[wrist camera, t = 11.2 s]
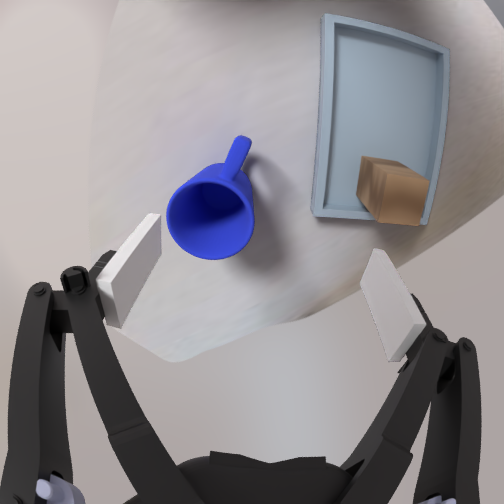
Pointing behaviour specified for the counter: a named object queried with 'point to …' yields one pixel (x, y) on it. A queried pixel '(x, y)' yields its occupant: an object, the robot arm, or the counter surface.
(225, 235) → the mug
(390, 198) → the walnut block
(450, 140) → the counter surface
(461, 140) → the counter surface
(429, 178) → the tray
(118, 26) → the counter surface
